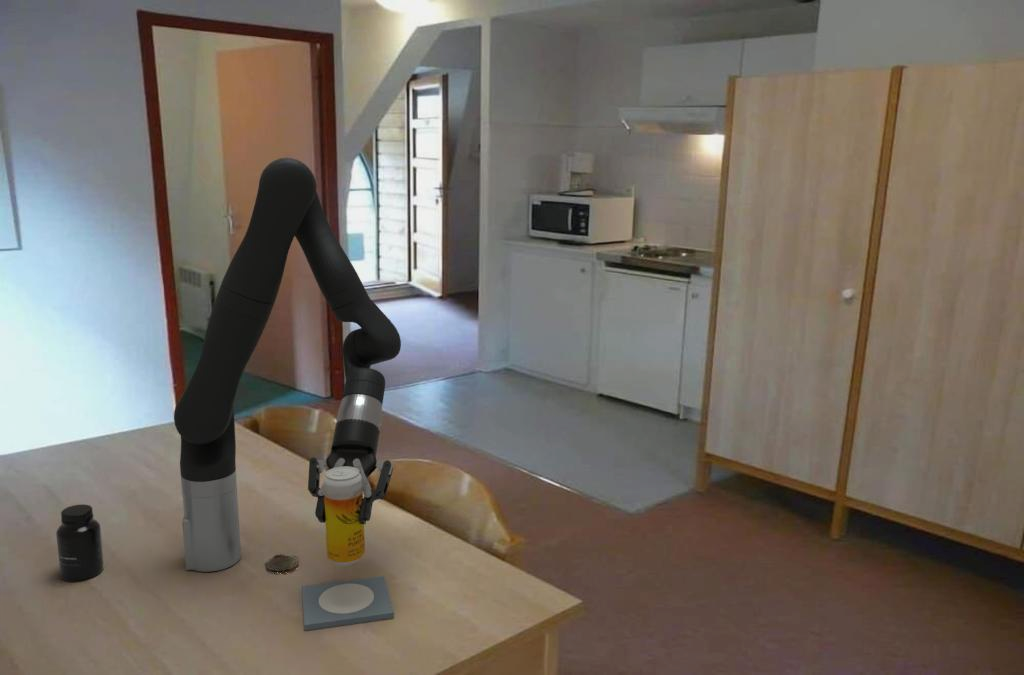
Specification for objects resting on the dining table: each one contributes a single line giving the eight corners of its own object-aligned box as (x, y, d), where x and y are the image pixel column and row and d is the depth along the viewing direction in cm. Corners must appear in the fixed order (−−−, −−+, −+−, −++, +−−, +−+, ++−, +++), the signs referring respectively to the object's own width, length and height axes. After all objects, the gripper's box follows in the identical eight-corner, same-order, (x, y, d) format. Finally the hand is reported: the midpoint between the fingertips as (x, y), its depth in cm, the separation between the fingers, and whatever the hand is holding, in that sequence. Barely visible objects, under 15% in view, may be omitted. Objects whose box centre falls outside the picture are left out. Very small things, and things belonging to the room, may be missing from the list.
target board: (304, 630, 125) (304, 623, 125) (301, 591, 136) (301, 584, 136) (393, 618, 129) (393, 611, 128) (384, 580, 140) (384, 574, 140)
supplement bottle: (60, 586, 136) (52, 521, 133) (61, 568, 142) (53, 505, 139) (104, 577, 139) (98, 513, 137) (104, 559, 145) (97, 498, 142)
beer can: (356, 569, 127) (352, 481, 124) (321, 565, 128) (316, 478, 125) (370, 551, 133) (367, 467, 129) (336, 547, 134) (332, 463, 131)
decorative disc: (258, 573, 142) (258, 568, 141) (272, 557, 148) (272, 552, 148) (293, 576, 141) (293, 571, 141) (306, 559, 147) (306, 554, 147)
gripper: (311, 415, 133) (291, 512, 125) (395, 418, 132) (381, 515, 124) (322, 434, 140) (303, 527, 131) (403, 437, 139) (390, 531, 130)
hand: (341, 521), depth 127 cm, fingers closed on beer can, 6 cm apart
